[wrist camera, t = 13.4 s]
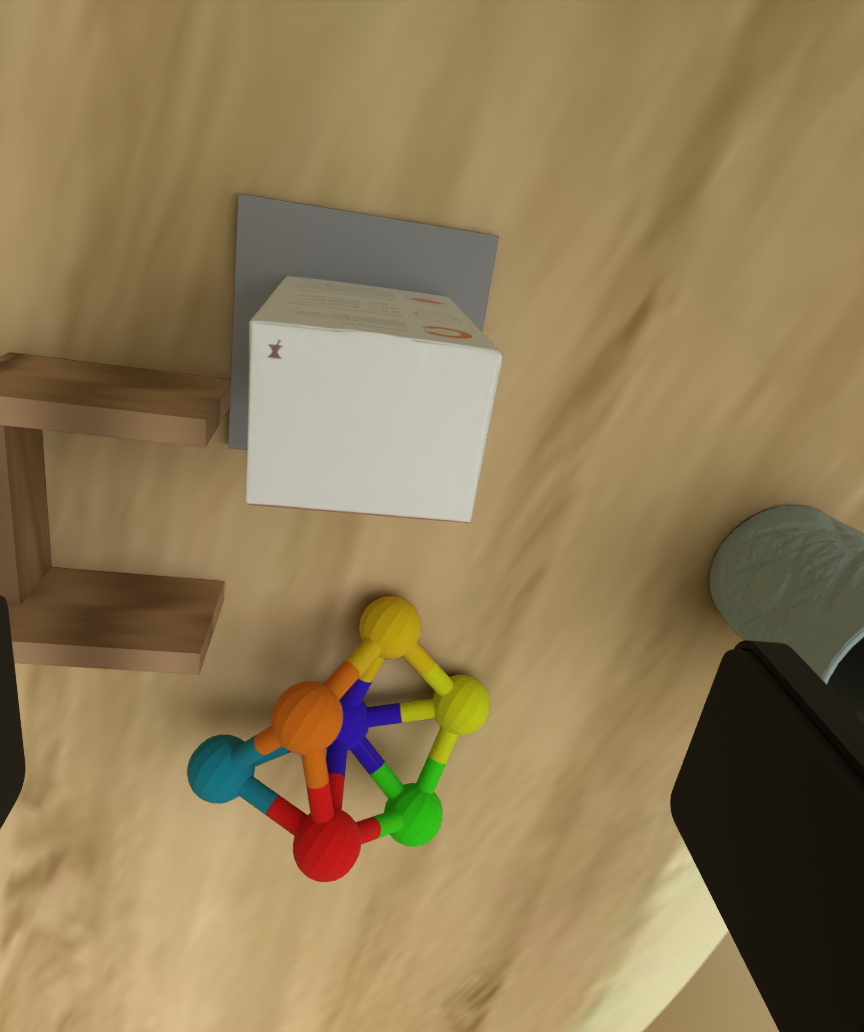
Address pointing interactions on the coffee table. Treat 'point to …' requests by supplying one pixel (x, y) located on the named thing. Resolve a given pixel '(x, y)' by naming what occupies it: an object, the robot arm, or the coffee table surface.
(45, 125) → the coffee table surface
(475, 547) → the coffee table surface
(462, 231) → the coaster
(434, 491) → the small box
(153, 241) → the coffee table surface
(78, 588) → the slot
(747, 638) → the blue-grey cup
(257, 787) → the molecular model
